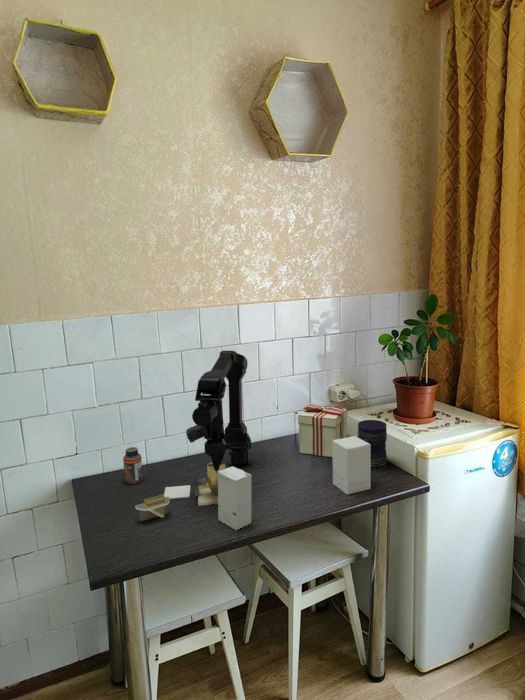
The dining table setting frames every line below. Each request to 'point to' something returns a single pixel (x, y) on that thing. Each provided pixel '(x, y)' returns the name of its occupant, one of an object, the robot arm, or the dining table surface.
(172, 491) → the grey mat
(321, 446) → the gift box
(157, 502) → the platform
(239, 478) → the skincare box
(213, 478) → the brass bell
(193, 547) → the dining table surface
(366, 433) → the storage jar
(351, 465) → the supplement box
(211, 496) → the cream slotted block
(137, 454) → the supplement bottle
